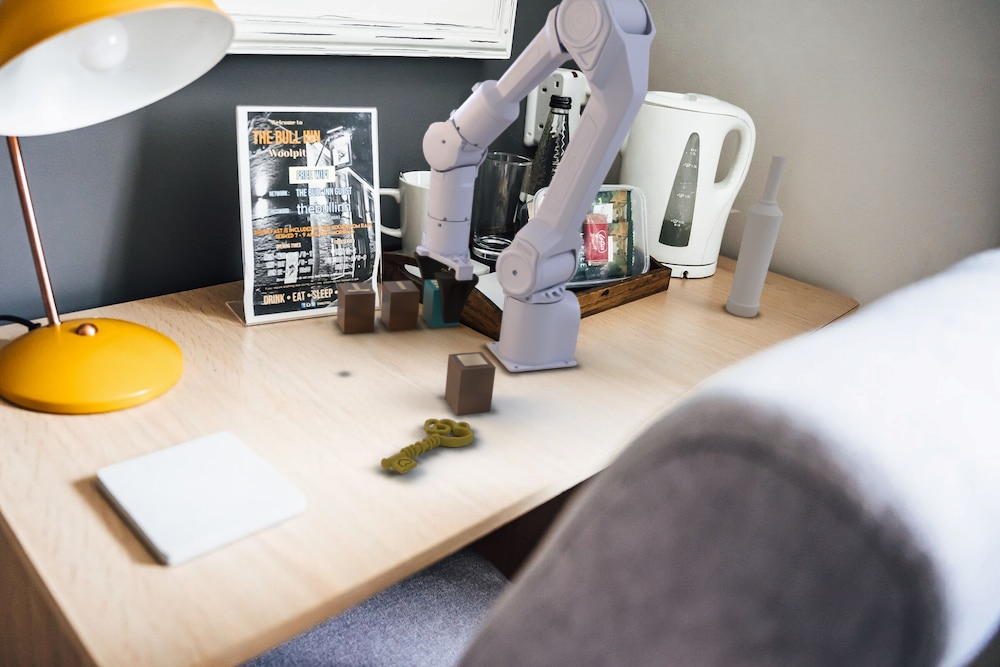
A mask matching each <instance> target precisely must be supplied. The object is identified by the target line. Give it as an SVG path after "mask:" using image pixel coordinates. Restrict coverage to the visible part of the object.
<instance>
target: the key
mask: <svg viewBox="0 0 1000 667" xmlns="http://www.w3.org/2000/svg"><path fill="white" fill-rule="evenodd" d="M430 426H432V428H430ZM423 427H424V428H423V429H424V431H425V434H426V435H429V436H427V437H424V438H423V439H422V440H421V441H420V440H418V441H416V442H415V443H414V444H413V443H411V444H409V445H406V446H405V447H402V448H401V449H400V451H399V452H398V453H396V454H394V455H392V456H390V457H387V458H385V457H383V458H382V459H381V461H380V465H381V467H382V469H384V470H386V471H389V470H390V469H391V468H392V469H394V470H395V471H396V472H398V473H400V474H405V473H407V472H410V471H411V470H413V469H416V467H417V466H418V462H416V461H415V460H413V459H414V458H416V457H418V455H422V454H424V453H425V451H431V450H433V449H435V448H436V447H439V446H443V447H450V448H461V447H465V446H469V445H470V444H471V443H473V440H474V431H473V430H472V429H471V426H470V424H469V423H468V422H466V421H459V422H457V421H456V420H453V419H450V418H441V419H437V418H429V419H426V420H425V421H424V425H423ZM451 432H452V433H453V436H454V437H453V436H448V435H450V434H451Z"/></svg>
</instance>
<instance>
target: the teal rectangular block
mask: <svg viewBox="0 0 1000 667" xmlns="http://www.w3.org/2000/svg"><path fill="white" fill-rule="evenodd" d="M421 317H422V318H423V320H424V321H425V322H426V323H427V325H428V326H429V328H431V329H432V328H447V327H458V326H459V322H458V323H446V324H445V323H444V322H443V320H442V314H441V296H440V290H439V286H438V283H437V280H436V279H434V280H425V285H424V292H423V300H422V312H421Z"/></svg>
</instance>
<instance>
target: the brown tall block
mask: <svg viewBox="0 0 1000 667" xmlns="http://www.w3.org/2000/svg"><path fill="white" fill-rule="evenodd" d="M446 370H447V371H446V379H445V388H444V389H445V390H444V399H445V401H446V402H447V403H448V405H449V406H450V408H451V409H452V410H453V412H454V413H455V414H456V416H462V415H471V414H479V413H488V412H491V410H492V402H493V395H494V394H493V393H494V387H495V386H494V385H495V375H496V366H495V365H494V363H493V362H492V361H491V360H490V359H489V357H488V356H486V354H485V353H484V352H483V351H471V352H461V353H450V354H449V353H448V357H447V369H446Z"/></svg>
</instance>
